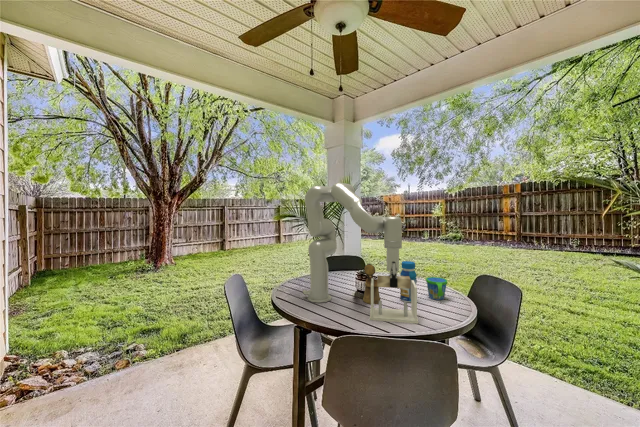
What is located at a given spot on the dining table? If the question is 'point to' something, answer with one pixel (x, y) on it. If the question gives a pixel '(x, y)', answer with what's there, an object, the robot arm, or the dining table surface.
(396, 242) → the robot arm
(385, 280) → the tan wooden block
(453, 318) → the dining table surface
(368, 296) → the wooden mug
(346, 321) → the dining table surface
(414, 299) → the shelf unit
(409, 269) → the beverage bottle
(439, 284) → the snack cup
